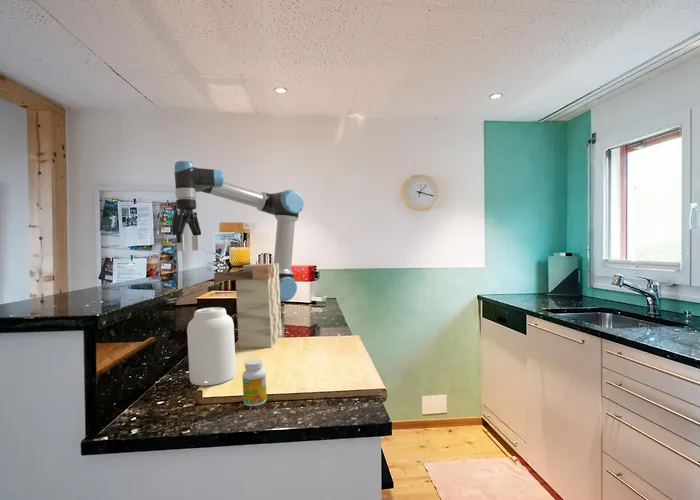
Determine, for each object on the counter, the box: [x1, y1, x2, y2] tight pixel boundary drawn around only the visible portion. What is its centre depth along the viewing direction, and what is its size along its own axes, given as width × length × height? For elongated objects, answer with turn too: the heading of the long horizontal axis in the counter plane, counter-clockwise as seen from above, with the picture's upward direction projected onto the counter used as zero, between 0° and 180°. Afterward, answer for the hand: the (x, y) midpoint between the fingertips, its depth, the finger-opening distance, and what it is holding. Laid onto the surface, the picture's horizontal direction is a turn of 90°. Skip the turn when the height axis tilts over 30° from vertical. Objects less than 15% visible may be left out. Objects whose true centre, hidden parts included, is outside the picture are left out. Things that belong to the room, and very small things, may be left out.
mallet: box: [213, 265, 273, 282], centre depth 143 cm, size 6×21×5 cm, turn 88°
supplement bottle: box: [242, 358, 268, 407], centre depth 90 cm, size 5×5×10 cm
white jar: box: [186, 306, 237, 387], centre depth 107 cm, size 12×12×20 cm
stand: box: [235, 262, 283, 349], centre depth 147 cm, size 18×12×30 cm, turn 178°
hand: (188, 250), depth 156 cm, fingers open, 13 cm apart
